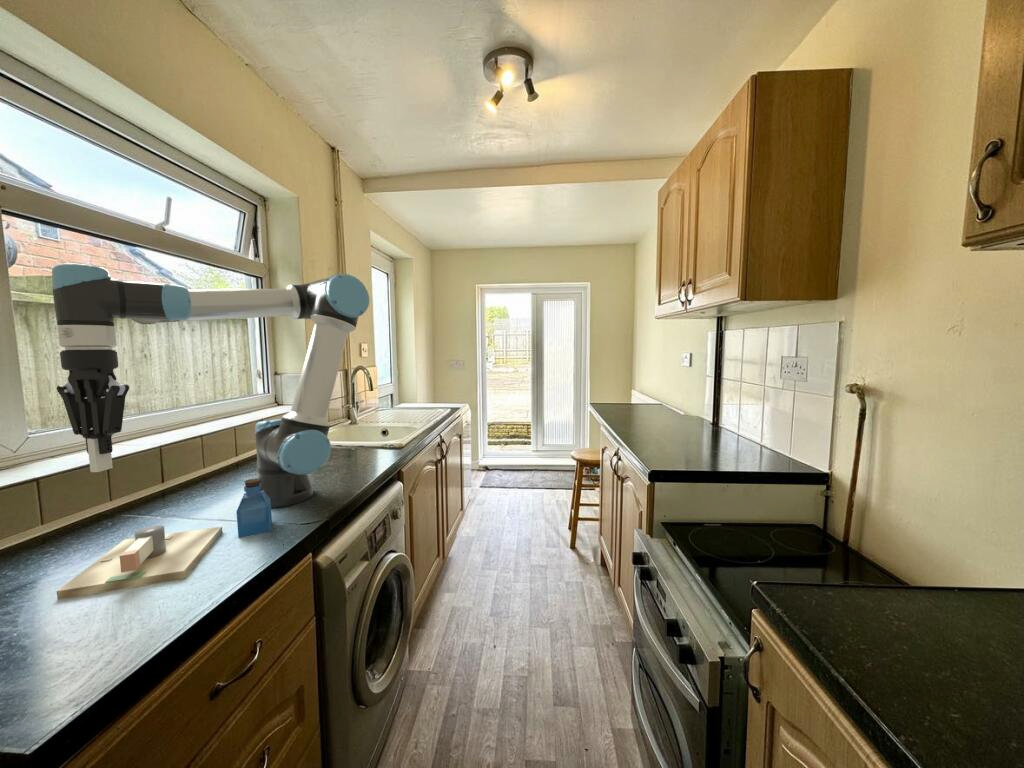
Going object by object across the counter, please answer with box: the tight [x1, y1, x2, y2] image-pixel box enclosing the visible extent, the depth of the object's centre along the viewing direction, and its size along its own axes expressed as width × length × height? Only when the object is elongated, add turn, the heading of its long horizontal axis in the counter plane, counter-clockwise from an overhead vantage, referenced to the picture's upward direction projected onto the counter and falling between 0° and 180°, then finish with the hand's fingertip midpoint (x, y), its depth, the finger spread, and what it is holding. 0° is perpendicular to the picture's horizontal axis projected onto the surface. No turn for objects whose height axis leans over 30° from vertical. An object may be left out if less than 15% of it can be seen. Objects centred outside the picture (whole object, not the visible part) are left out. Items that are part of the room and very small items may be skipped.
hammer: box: [120, 524, 166, 573], centre depth 77 cm, size 12×4×5 cm, turn 24°
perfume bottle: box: [236, 477, 273, 539], centre depth 94 cm, size 6×6×12 cm
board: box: [56, 526, 223, 600], centre depth 81 cm, size 18×20×2 cm
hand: (101, 469), depth 78 cm, fingers closed
